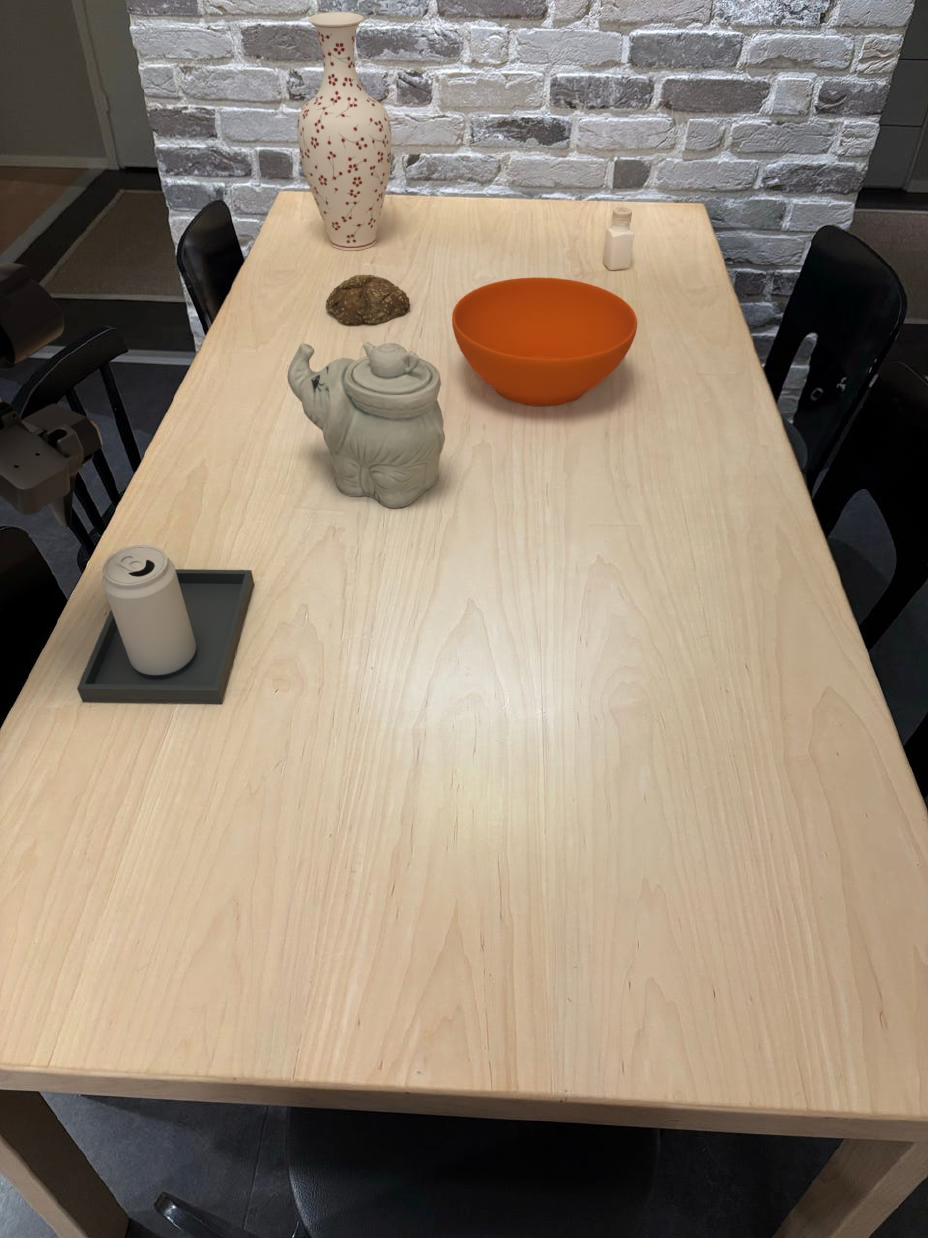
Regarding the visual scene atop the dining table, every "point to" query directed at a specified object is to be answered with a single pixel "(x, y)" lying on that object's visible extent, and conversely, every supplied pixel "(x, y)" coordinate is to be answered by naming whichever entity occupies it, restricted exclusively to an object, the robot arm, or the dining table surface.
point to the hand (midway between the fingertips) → (24, 551)
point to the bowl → (543, 337)
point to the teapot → (375, 420)
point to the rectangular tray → (203, 680)
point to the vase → (345, 140)
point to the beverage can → (149, 609)
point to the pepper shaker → (619, 240)
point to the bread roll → (367, 300)
